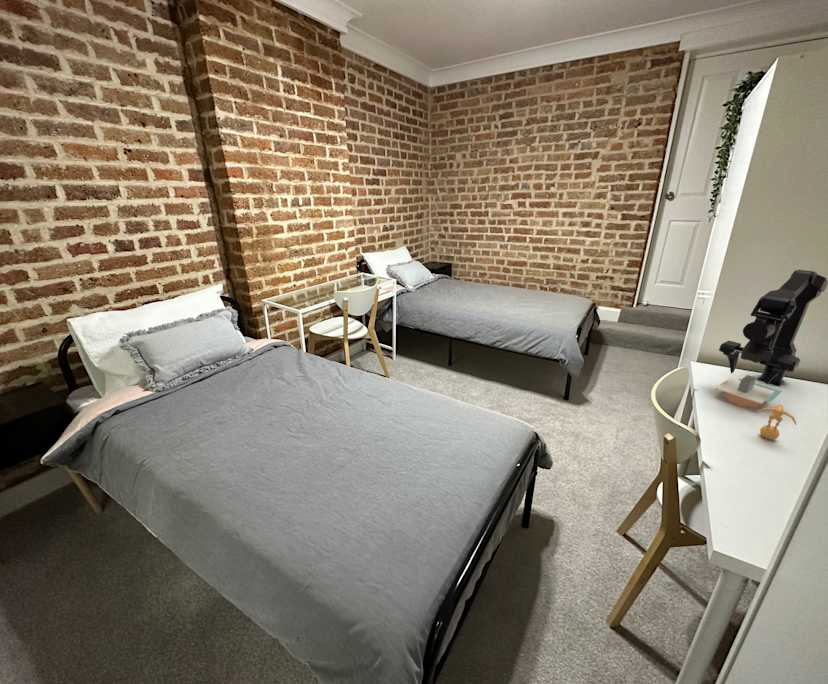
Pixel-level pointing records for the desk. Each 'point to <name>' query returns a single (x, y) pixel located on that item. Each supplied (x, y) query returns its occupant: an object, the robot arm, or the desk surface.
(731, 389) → the lid
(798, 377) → the desk surface
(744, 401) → the bowl
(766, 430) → the figurine
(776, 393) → the mat
